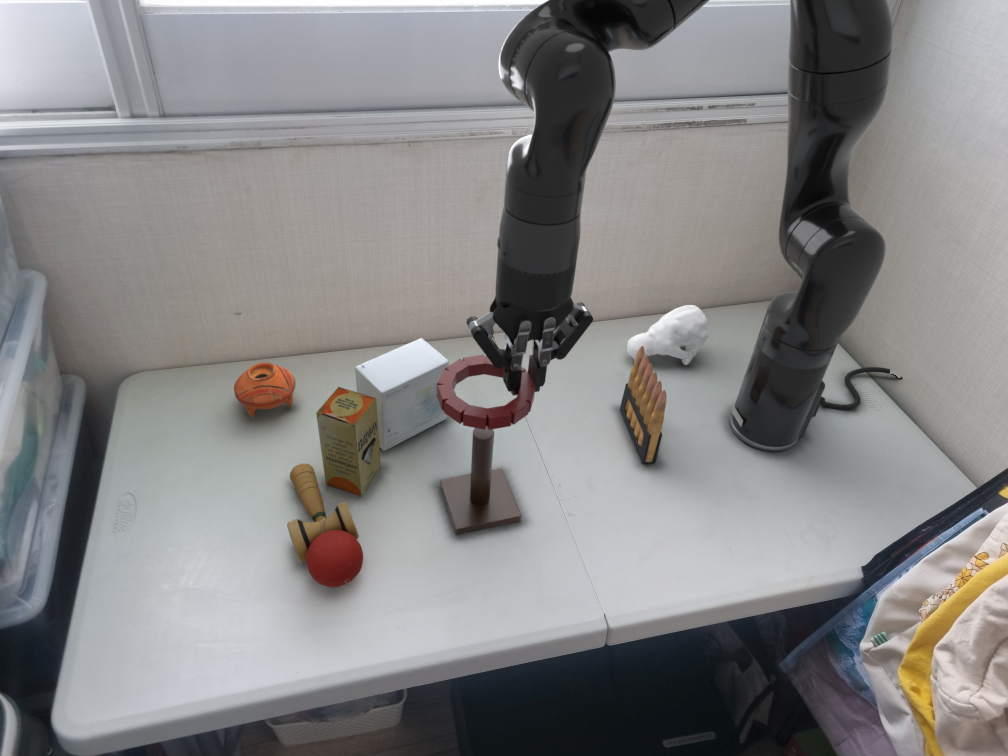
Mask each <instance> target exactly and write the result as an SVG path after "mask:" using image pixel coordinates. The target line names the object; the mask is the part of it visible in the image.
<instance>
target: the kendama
mask: <svg viewBox="0 0 1008 756" xmlns="http://www.w3.org/2000/svg"><path fill="white" fill-rule="evenodd" d="M289 479H290V482H291V483H292V485H293V486H294V488H295V490H296V492H297V494H298V496H299V499H300V500H301V502H302V505H303V507H304V508H305V510H306V513H307V514H308V516H309V517H310V518H311V520H312V521H310V522H309V521H303V520H300V519H298V518H295V519H293V520H290V521H287V523H286V527H287V530H288V534H289V537H290V540H291V542H292V546H293V548H294V550H295V554H296V555H297V557H298V560H299V561H300V563H301V564H304V563H305V564H306V568H307V571H308V573H309V575H310V576H311V578H312V579H313V580H314V581H315V582H316V583H318V584H319V585H322V586H324V587H327V588H340V587H344V586H347V585H348V584H349V583H352V581H354V579H355V578H357V576H358V575H360V574H359V573H360V572H361V571H362V567H363V563H364V551H363V547H362V546H361V543H360V542H359V539H360V534H359V532H358V529H357V527H356V524H355V522H354V518H353V517H352V514H351V511H350V509H349V506H348V504H347V502H346V501H344V502H341V503H338V504H337V505H336V507H335V508H334V510H333V511H332V512H331V514H330V515H328V516H327V514H326V508H325V504H324V500H323V496H322V493H321V489H320V487H319V483H318V480H317V476H316V472H315V469H314V467H313V466H312V465H311V464H309V463H299V464H297V465H295V466H294V467H293V468H292V469H291V471H290V472H289Z"/></svg>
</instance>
